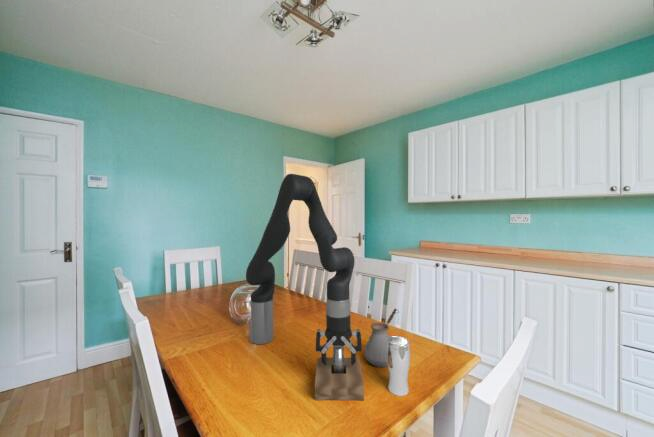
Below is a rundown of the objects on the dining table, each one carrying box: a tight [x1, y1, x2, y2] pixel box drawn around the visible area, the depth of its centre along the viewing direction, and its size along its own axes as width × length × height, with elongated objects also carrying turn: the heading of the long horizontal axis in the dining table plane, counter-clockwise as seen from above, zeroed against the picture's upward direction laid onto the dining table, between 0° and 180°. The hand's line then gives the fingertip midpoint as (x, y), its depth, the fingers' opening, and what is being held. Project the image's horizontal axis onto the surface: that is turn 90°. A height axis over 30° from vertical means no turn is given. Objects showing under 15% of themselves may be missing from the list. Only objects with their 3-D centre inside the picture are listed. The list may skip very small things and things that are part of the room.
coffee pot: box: [363, 308, 400, 368], centre depth 103 cm, size 21×12×15 cm, turn 143°
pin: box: [332, 345, 345, 374], centre depth 86 cm, size 3×3×11 cm
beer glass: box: [386, 335, 411, 397], centre depth 83 cm, size 7×7×15 cm
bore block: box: [314, 357, 365, 401], centre depth 86 cm, size 14×14×5 cm
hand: (338, 363), depth 86 cm, fingers open, 8 cm apart
